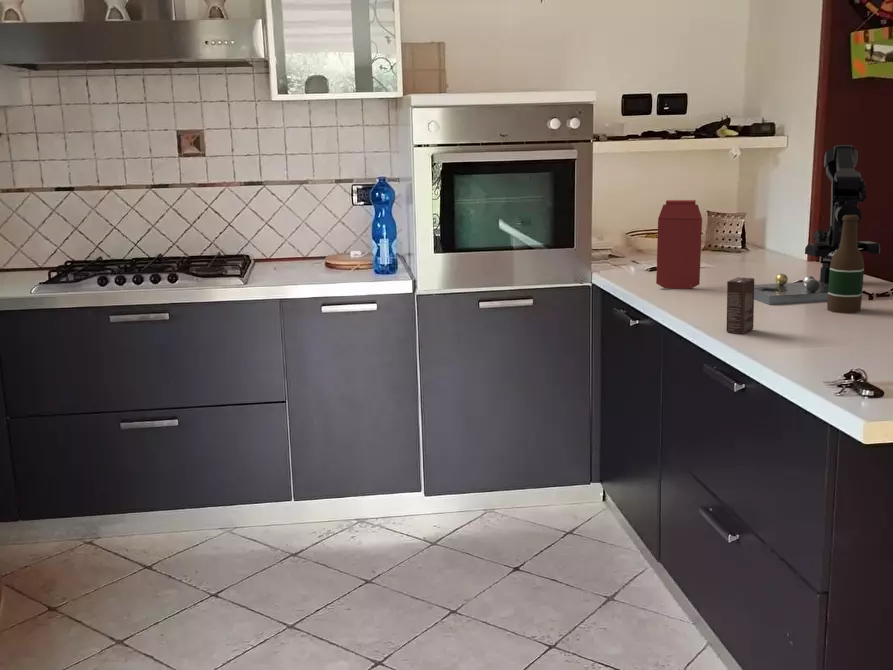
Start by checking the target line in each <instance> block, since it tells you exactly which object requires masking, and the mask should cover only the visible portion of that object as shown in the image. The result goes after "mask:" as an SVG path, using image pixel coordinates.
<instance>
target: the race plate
mask: <svg viewBox="0 0 893 670" xmlns="http://www.w3.org/2000/svg"><path fill="white" fill-rule="evenodd" d="M817 281H818V282H819V281H820V280H817ZM819 284H820V287H819V289H818V290H817V291H815V292H811V291H809V290H808V289H807V287H805V286H804V285H803V281H802V282H801V281H800V282H787V283H786V284H784V285H778V284H777V283H767V284H766V283H765V284H763V283H762V284H754V301H756V302H759V303H762V304H764V305H767V306H775V305H776V306H777V305H787V304H788V305H790V304H802V303H803V304H804V303H816V302H818V303H819V302H827V300H828V286H829V284H825V283H822V282H819Z"/></svg>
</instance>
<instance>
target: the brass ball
mask: <svg viewBox="0 0 893 670" xmlns="http://www.w3.org/2000/svg"><path fill="white" fill-rule="evenodd" d="M788 280H789V279H788V276H787V274H785V273H779V274H777V275H776V276H775V284H778V285H784V284H786V283H788Z"/></svg>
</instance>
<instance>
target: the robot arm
mask: <svg viewBox="0 0 893 670" xmlns="http://www.w3.org/2000/svg"><path fill="white" fill-rule="evenodd" d="M854 146H855V145H852V144H838V145H834V147H833V148H831V149H828V150H826V151H825V154H824V158H823V159H824V160H823V167H824V168H825V173H826V174H825V175H826V176H827V177H828V179H829V181H830V183H831V185H830V187H831V188H830V216H829V217H830V221H829V222H830V223H829V224H830V225H829V228H828V230H827V232H825V231H824V229H822V230H821V229H818V230H817V229H816V230H815V231H814V233H813V243H808V244H807V245H806V246H805V248H804V254H805V255H808V256H812V257H816V258H817V257H818V258H819V263H820V264H822V267H821V268H820V276H819V280H818V281H819V282H822V283H825V284H829V272H830V263H831V259H832V257H833V255H834V254H835V252H836V251H837V250H838V249H839V245H840V242H841V235H842V227H843V220H842V218H843V216H845V215H857V216H858V217H859V220H858V224H859V222H860V221H861V219H862V212H861V210H860V208H859V207H858V203H864V201H865V200H866V198H867V188H866V186H867V185H866V183H865V180H864V179H862V176H861V173H860V172H859V171H857V170H855V167H856V166H857V164H858V150H857V149H855V147H854ZM859 229H860V228H859V226H857V232H859ZM857 244H858V249H859V251H860V252H867V253H868V254H869V255H878V254H879V255H880V253H881V246H880V244H879V243H878V242H874V241H870V240H865V241H863V240H862V241H861V240H860V241H857Z"/></svg>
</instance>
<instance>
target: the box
mask: <svg viewBox="0 0 893 670" xmlns="http://www.w3.org/2000/svg"><path fill="white" fill-rule="evenodd" d="M726 282H727V286H726V287H727V288H726V290H727V291H726V332H727V333H731V332H732V334H737V333H742V334H741V335H744V334H747V332H750V331H751V330H753V329H754V316H755V314H754V313H755V312H754V311H755V309H754V308H755V300H754V285H755V278H753V277H739V276H737V277H734V278H733V279H730V280H728V281H726Z"/></svg>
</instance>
